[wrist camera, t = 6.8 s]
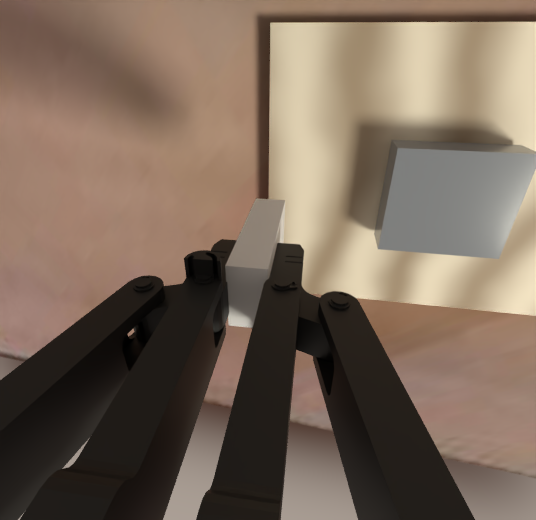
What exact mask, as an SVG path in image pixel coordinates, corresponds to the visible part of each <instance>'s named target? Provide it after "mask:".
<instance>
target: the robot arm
mask: <svg viewBox="0 0 536 520" xmlns="http://www.w3.org/2000/svg"><path fill="white" fill-rule="evenodd" d="M284 218H285V200H274V199H258V198H256V200H255V202H254V204H253V206H252V208H251V210H250V213H249V215H248V217H247V219H246V221H245V224H244V226H243V228H242V230H241V232H240V234H239V237H238V239H237V240H224V239H222V240H220V241H219V242H217V243H216V244H214V246H213V247H212V249H211V251H208V250H206V251H196V252H193V253H190V254H188V255H187V256H186V257H185V258H184V262H185V270H186V277H187V278H186V279H185V281H184V283H183V284H178V285H170V286H164V284H163V281H162V280H161V278H158V277H156V276H141V277H138V278H135V279H133V280H131V281H130V282H128V283H127V284H125V285H124V286H123V287H122V288H120V289H119V290H118V291H116V292H115V293H114V294H112V295H111V296H110V297H108V298H107V299H106V300H105V301H103V302H102V303H101V304H99V305H98V306H97V307H95V308H94V309H93V310H91V311H90V312H89V313H88V314H86V315H85V316H84V317H82V318H81V319H80V320H78V321H77V322H76V323H75V324H73V325H72V326H71V327H69V328H68V329H67V330H65V331H64V332H63V333H61V334H60V335H59V336H58V337H56V338H55V339H54V340H52V341H51V342H50V343H48V344H47V345H46V346H45V347H43V348H42V349H41V350H39V351H38V352H37V353H35V354H34V355H33V356H31V357H30V358H29V359H28V360H26V361H25V362H24V363H22V364H21V365H20V366H18V367H17V368H16V369H15V370H13V371H12V372H11V373H9V374H8V375H7V376H5V377H4V378H3V379H2V380H0V520H18V519H19V517H20V516H21V515H22V514H23V513H24V514H23V516H22V517H21V519H20V520H163V518H164V515H165V512H166V509H167V506H168V503H169V500H170V497H171V494H172V491H173V488H174V485H175V482H176V479H177V476H178V473H179V471H180V467H181V465H182V462H183V459H184V456H185V453H186V450H187V447H188V444H189V441H190V438H191V435H192V432H193V429H194V426H195V423H196V420H197V417H198V415H199V412H200V409H201V406H202V403H203V400H204V397H205V394H206V391H207V388H208V385H209V382H210V379H211V376H212V373H213V370H214V367H215V364H216V361H217V359H218V356H219V353H220V350H221V347H222V344H223V341H224V338H225V335H226V326H225V323H226V320H227V317H228V320H229V325H230V326H240V327H250V328H252V332H251V336H250V340H249V344H248V347H247V351H246V355H245V359H244V363H243V367H242V371H241V375H240V379H239V382H238V386H237V390H236V394H235V398H234V402H233V406H232V410H231V414H230V417H229V421H228V425H227V429H226V433H225V437H224V441H223V445H222V449H221V452H220V456H219V460H218V465H217V468H216V472H215V476H214V479H213V483H212V486H211V488H210V490H208V491H207V492H206V493H205V495H204V497H203V500H202V502H201V505H200V509H199V512H198V515H197V519H196V520H281V509H282V497H283V487H284V475H285V465H286V453H287V443H288V432H289V421H290V410H291V399H292V388H293V377H294V366H295V357H296V350H299V351H302V352H304V353H307V354H309V355H312V356H313V361H314V365H315V368H316V372H317V375H318V379H319V383H320V386H321V390H322V393H323V397H324V400H325V404H326V407H327V411H328V414H329V418H330V421H331V425H332V428H333V432H334V436H335V439H336V443H337V446H338V450H339V453H340V457H341V460H342V464H343V467H344V471H345V474H346V478H347V481H348V485H349V489H350V492H351V495H352V499H353V503H354V506H355V510H356V513H357V517H358V520H475V519H474V517H473V515H472V513H471V511H470V509H469V508H468V506H467V504H466V502H465V500H464V498H463V496H462V494H461V492H460V491H459V489H458V487H457V485H456V483H455V482H454V479H453V477H452V476H451V474H450V472H449V470H448V468H447V466H446V464H445V463H444V461H443V459H442V457H441V455H440V453H439V451H438V449H437V447H436V446H435V444H434V442H433V440H432V438H431V436H430V434H429V432H428V431H427V429H426V427H425V425H424V423H423V421H422V419H421V418H420V416H419V414H418V412H417V410H416V408H415V406H414V404H413V403H412V401H411V399H410V397H409V395H408V393H407V391H406V389H405V388H404V386H403V384H402V382H401V380H400V378H399V376H398V374H397V373H396V371H395V369H394V367H393V365H392V363H391V361H390V359H389V358H388V356H387V354H386V352H385V350H384V348H383V346H382V344H381V343H380V341H379V339H378V337H377V335H376V333H375V331H374V329H373V328H372V326H371V324H370V322H369V320H368V318H367V316H366V314H365V313H364V311H363V309H362V307H361V305H360V303H359V302H358V300H357V299H356V298H355V297H353V296H352V295H350V294H348V293H345V292H340V291H332V292H327V293H325V294H323V295H322V296H321V298H319V297H316V296H313V295H311V294H309V293H308V292H306V291H305V290H304V289H303V287H302V273H303V260H304V249H303V248H302V247H301V245H300V244H288V243H283V242H284ZM133 328H134V331H135V332H134V333H133V334H132V335H131V336H129V337H128V335H127V334H128V333H129V332H130V331H131V330H132V329H133ZM90 436H91V437H90ZM89 437H90V439H89ZM88 439H89V440H88ZM87 440H88V442H87V444H86V445H85V447H84V449H83V450H82V452H81V454H80V455H79V457H78V458H77V460H76V461H75V463H74V464H73V465H71V466H70V467H69V468H65V469H62V468H63V467H64V466H65V465H66V463H68V461H69V460H70V459H71V458H72V457H73V456H74V455H75V453H76V452H77V451H78V450H79V449H80V448H81V446H82V445H83V444H84V443H85V442H86V441H87Z"/></svg>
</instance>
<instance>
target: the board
mask: <svg viewBox="0 0 536 520" xmlns="http://www.w3.org/2000/svg"><path fill="white" fill-rule="evenodd" d="M391 140H410V141H435V142H460V143H485V144H510V145H522V146H525V147H527V148H529V149H531V150H534V151H536V22H318V23H270V112H269V199H274V200H285V218H284V242H283V243H288V244H300V245H301V247H302V248H303V249H304V260H303V273H302V287H303V289H304V290H305V291H306V292H308V293H312V294H322V295H323V294H325V293H327V292H332V291H340V292H345V293H348V294H350V295H352V296H353V297H355V298H362V299H372V300H382V301H393V302H403V303H413V304H423V305H433V306H443V307H453V308H463V309H473V310H483V311H493V312H503V313H513V314H523V315H533V316H536V170H535V172H534V175H533V177H532V179H531V182H530V184H529V187H528V189H527V192H526V194H525V197H524V199H523V201H522V204H521V206H520V209H519V211H518V214H517V216H516V219H515V221H514V223H513V226H512V228H511V231H510V233H509V236H508V238H507V240H506V243H505V245H504V248H503V250H502V253H501V255H500V258H499V259H492V258H480V257H468V256H455V255H443V254H430V253H418V252H406V251H393V250H381V249H378V248H377V244H376V240H375V236H374V232H375V226H376V221H377V215H378V210H379V205H380V199H381V194H382V189H383V183H384V178H385V172H386V167H387V162H388V156H389V151H390V145H391Z"/></svg>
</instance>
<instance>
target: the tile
mask: <svg viewBox="0 0 536 520" xmlns="http://www.w3.org/2000/svg"><path fill="white" fill-rule="evenodd" d="M535 170H536V151H534V150H531V149H529V148H527V147H525V146H522V145H510V144H485V143H460V142H435V141H410V140H391V145H390V151H389V156H388V162H387V167H386V172H385V178H384V183H383V189H382V194H381V199H380V205H379V210H378V215H377V221H376V226H375V232H374V236H375V240H376V244H377V248H378V249H381V250H393V251H406V252H418V253H430V254H443V255H455V256H468V257H480V258H492V259H499V258H500V255H501V253H502V250H503V248H504V245H505V243H506V240H507V238H508V236H509V233H510V231H511V228H512V226H513V223H514V221H515V219H516V216H517V214H518V211H519V209H520V206H521V204H522V201H523V199H524V197H525V194H526V192H527V189H528V187H529V184H530V182H531V179H532V177H533V175H534V172H535Z"/></svg>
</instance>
